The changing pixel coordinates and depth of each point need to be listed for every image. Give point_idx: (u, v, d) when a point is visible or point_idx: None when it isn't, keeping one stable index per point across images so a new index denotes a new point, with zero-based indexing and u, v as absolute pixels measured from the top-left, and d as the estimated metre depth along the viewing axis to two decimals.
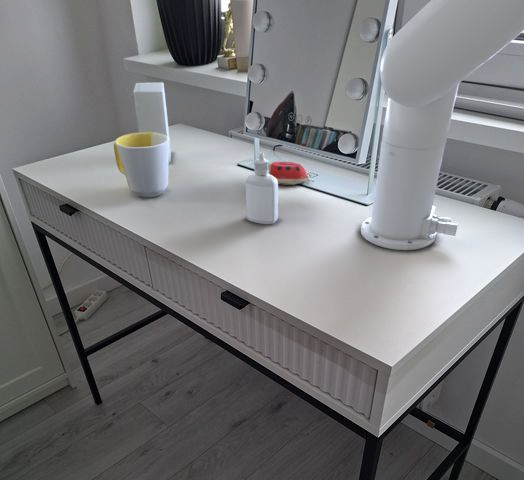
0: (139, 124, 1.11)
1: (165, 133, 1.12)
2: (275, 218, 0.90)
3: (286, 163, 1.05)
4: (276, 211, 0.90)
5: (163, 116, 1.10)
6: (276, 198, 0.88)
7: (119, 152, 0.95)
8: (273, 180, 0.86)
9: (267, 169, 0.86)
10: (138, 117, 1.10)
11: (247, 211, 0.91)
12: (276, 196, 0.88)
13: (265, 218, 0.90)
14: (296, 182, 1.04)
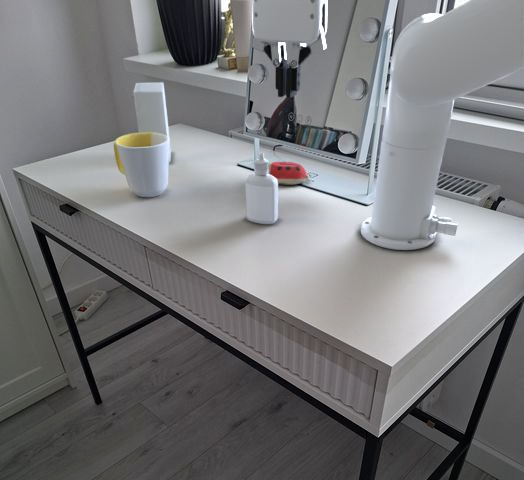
0: (139, 124, 1.11)
1: (165, 133, 1.12)
2: (275, 218, 0.90)
3: (286, 163, 1.05)
4: (276, 211, 0.90)
5: (163, 116, 1.10)
6: (276, 198, 0.88)
7: (119, 152, 0.95)
8: (273, 180, 0.86)
9: (267, 169, 0.86)
10: (138, 117, 1.10)
11: (247, 211, 0.91)
12: (276, 196, 0.88)
13: (265, 218, 0.90)
14: (296, 182, 1.04)
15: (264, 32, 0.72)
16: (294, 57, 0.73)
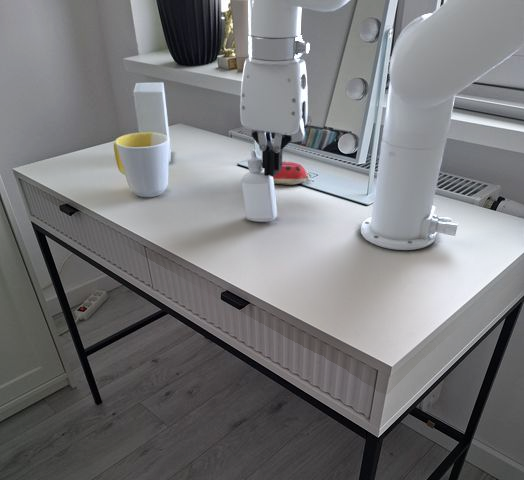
0: (139, 124, 1.11)
1: (165, 133, 1.12)
2: (274, 215, 0.90)
3: (286, 163, 1.05)
4: (275, 207, 0.89)
5: (163, 116, 1.10)
6: (273, 194, 0.88)
7: (119, 152, 0.95)
8: (268, 176, 0.86)
9: (261, 166, 0.86)
10: (138, 117, 1.10)
11: (246, 211, 0.91)
12: (273, 192, 0.88)
13: (264, 215, 0.89)
14: (296, 182, 1.04)
15: (251, 122, 0.80)
16: (276, 144, 0.81)
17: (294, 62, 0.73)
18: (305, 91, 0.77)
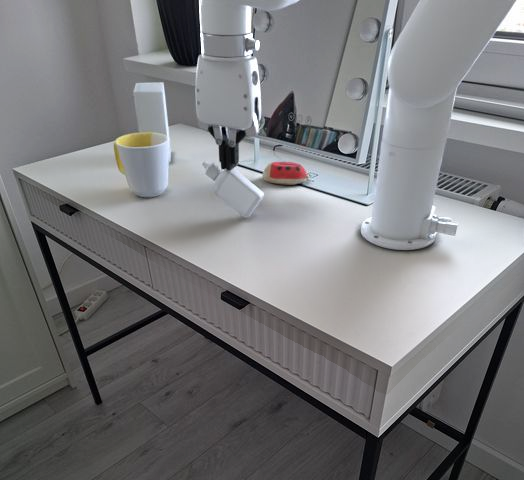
0: (139, 124, 1.11)
1: (165, 133, 1.12)
2: (258, 193, 0.89)
3: (286, 163, 1.05)
4: (254, 188, 0.89)
5: (163, 116, 1.10)
6: (243, 179, 0.88)
7: (119, 152, 0.95)
8: None
9: (217, 168, 0.89)
10: (138, 117, 1.10)
11: (239, 212, 0.91)
12: (242, 177, 0.88)
13: (250, 200, 0.89)
14: (296, 182, 1.04)
15: (206, 117, 0.82)
16: (231, 138, 0.83)
17: (245, 59, 0.76)
18: (257, 87, 0.79)
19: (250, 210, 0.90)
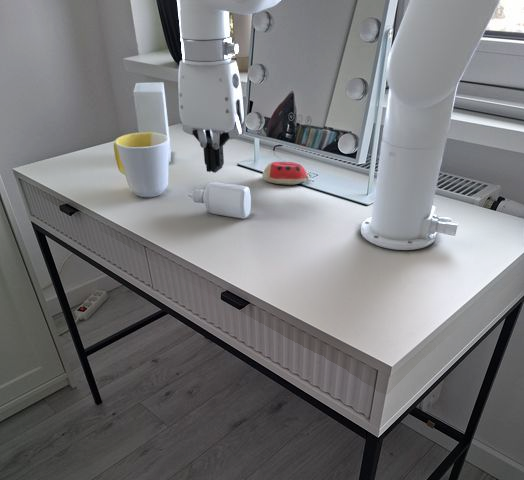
0: (139, 124, 1.11)
1: (165, 133, 1.12)
2: (241, 188, 0.89)
3: (286, 163, 1.05)
4: (236, 186, 0.90)
5: (163, 116, 1.10)
6: (224, 184, 0.91)
7: (119, 152, 0.95)
8: None
9: (200, 190, 0.93)
10: (138, 117, 1.10)
11: (236, 216, 0.92)
12: (222, 184, 0.91)
13: (237, 198, 0.89)
14: (296, 182, 1.04)
15: (190, 121, 0.84)
16: (215, 141, 0.85)
17: (224, 62, 0.77)
18: (238, 90, 0.80)
19: (242, 207, 0.90)
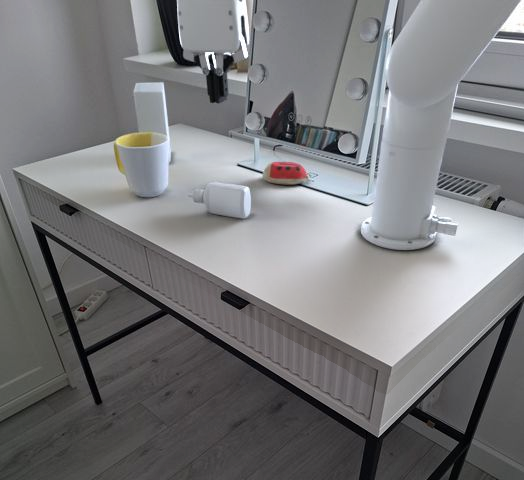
0: (139, 124, 1.11)
1: (165, 133, 1.12)
2: (241, 188, 0.89)
3: (286, 163, 1.05)
4: (236, 186, 0.90)
5: (163, 116, 1.10)
6: (224, 184, 0.91)
7: (119, 152, 0.95)
8: None
9: (200, 190, 0.93)
10: (138, 117, 1.10)
11: (236, 216, 0.92)
12: (222, 184, 0.91)
13: (237, 198, 0.89)
14: (296, 182, 1.04)
15: (190, 43, 0.77)
16: (219, 65, 0.78)
17: None
18: (243, 4, 0.73)
19: (242, 207, 0.90)
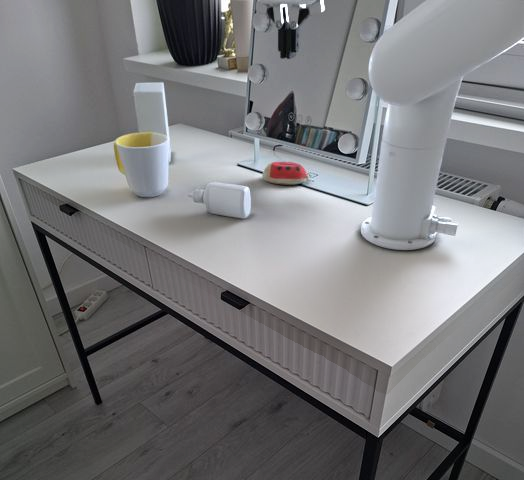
0: (139, 124, 1.11)
1: (165, 133, 1.12)
2: (241, 188, 0.89)
3: (286, 163, 1.05)
4: (236, 186, 0.90)
5: (163, 116, 1.10)
6: (224, 184, 0.91)
7: (119, 152, 0.95)
8: None
9: (200, 190, 0.93)
10: (138, 117, 1.10)
11: (236, 216, 0.92)
12: (222, 184, 0.91)
13: (237, 198, 0.89)
14: (296, 182, 1.04)
15: None
16: (293, 18, 0.76)
17: None
18: None
19: (242, 207, 0.90)
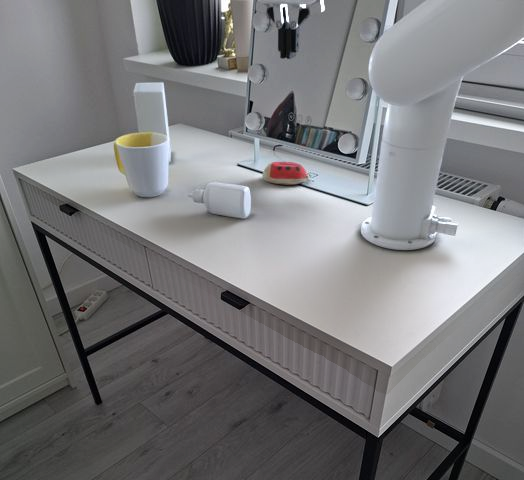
0: (139, 124, 1.11)
1: (165, 133, 1.12)
2: (241, 188, 0.89)
3: (286, 163, 1.05)
4: (236, 186, 0.90)
5: (163, 116, 1.10)
6: (224, 184, 0.91)
7: (119, 152, 0.95)
8: None
9: (200, 190, 0.93)
10: (138, 117, 1.10)
11: (236, 216, 0.92)
12: (222, 184, 0.91)
13: (237, 198, 0.89)
14: (296, 182, 1.04)
15: None
16: (293, 18, 0.76)
17: None
18: None
19: (242, 207, 0.90)
